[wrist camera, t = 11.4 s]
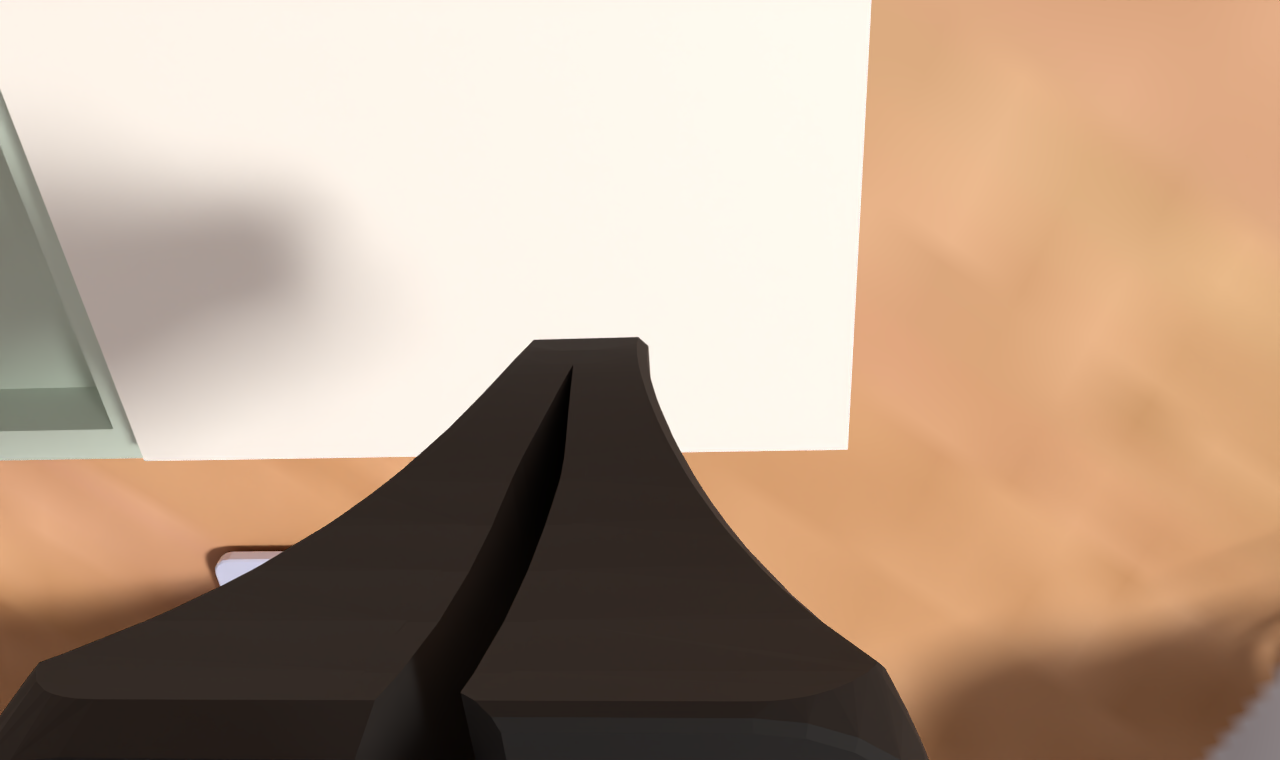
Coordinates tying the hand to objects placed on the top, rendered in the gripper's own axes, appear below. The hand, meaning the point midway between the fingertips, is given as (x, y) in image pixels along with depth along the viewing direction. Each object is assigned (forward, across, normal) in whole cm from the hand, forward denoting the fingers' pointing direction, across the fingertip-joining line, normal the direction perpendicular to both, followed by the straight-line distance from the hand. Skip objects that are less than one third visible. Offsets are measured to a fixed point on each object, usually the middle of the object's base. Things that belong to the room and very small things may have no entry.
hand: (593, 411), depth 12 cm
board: (+10, +4, 0) cm, 11 cm away
